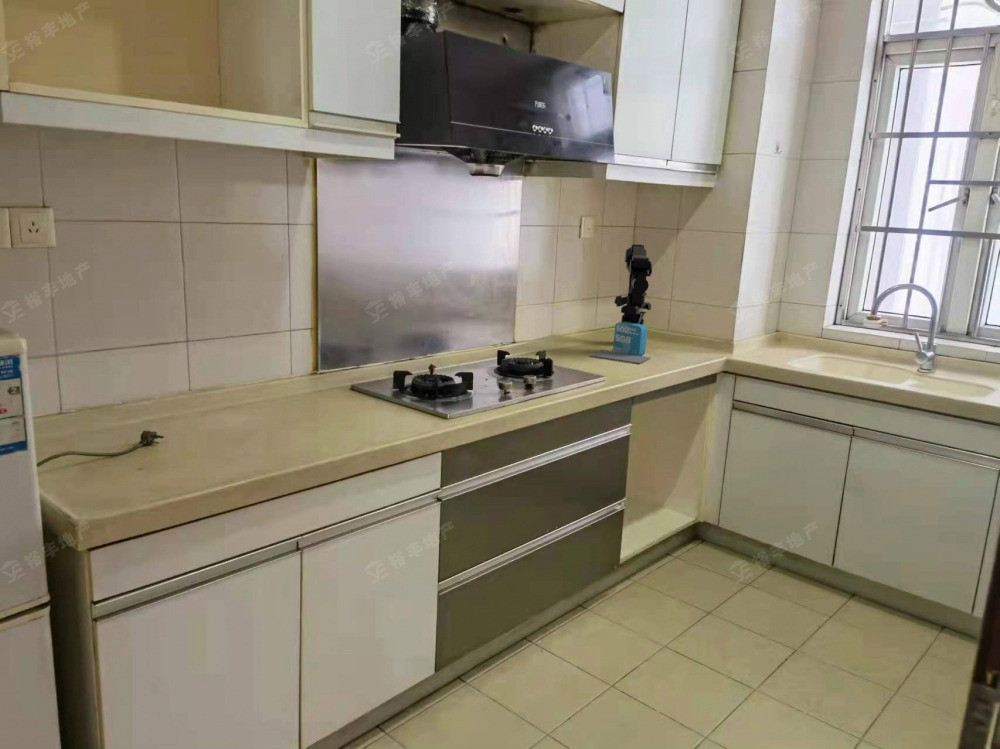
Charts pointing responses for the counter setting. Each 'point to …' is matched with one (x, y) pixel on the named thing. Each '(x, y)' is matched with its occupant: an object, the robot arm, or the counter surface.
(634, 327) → the light blue flat block
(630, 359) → the mat
